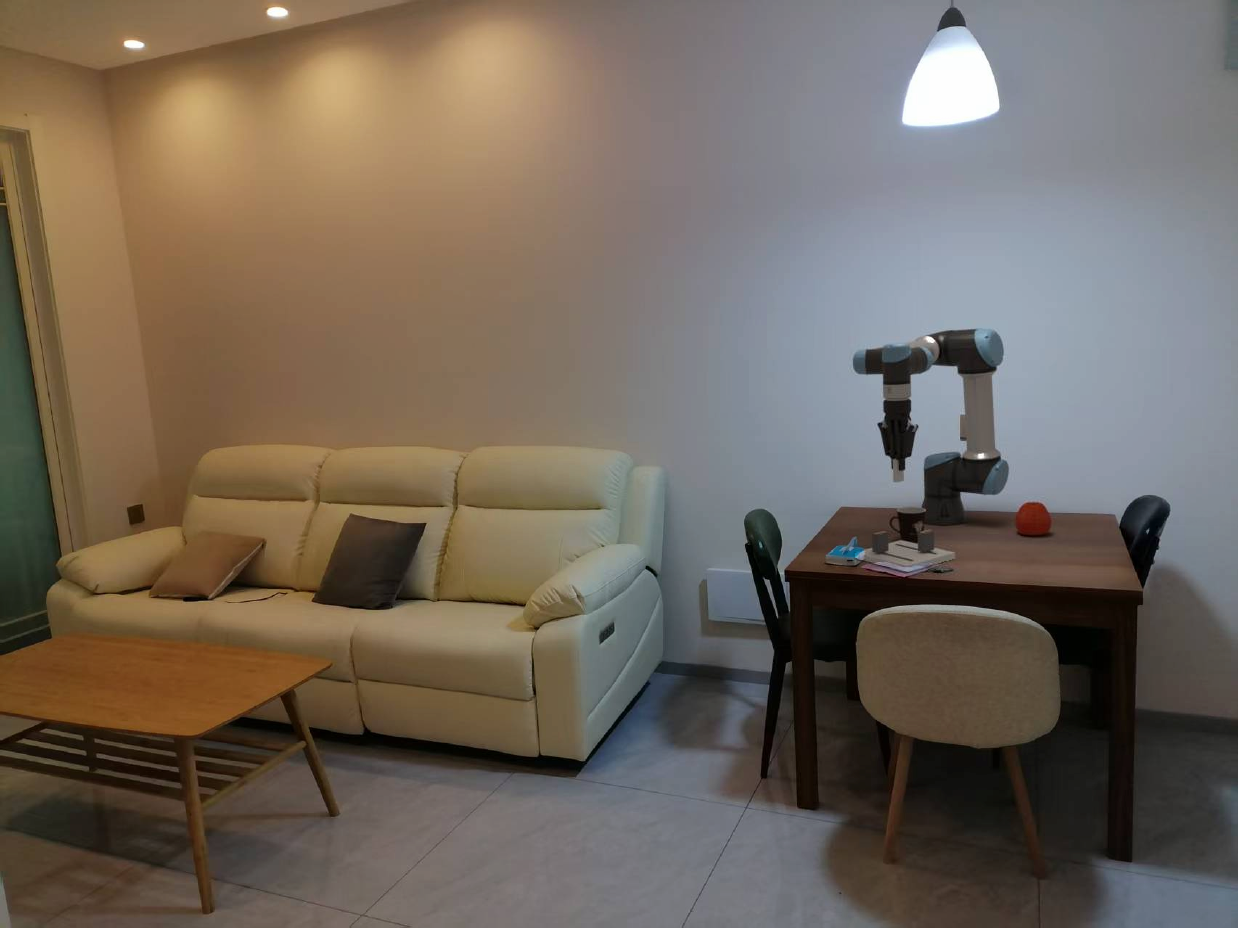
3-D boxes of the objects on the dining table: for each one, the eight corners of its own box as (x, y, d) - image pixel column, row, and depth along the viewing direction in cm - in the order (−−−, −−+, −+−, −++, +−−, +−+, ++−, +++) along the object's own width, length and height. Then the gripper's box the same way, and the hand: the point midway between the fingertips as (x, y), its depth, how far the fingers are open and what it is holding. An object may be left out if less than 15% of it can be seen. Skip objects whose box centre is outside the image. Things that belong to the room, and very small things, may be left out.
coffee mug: (922, 537, 281) (922, 506, 279) (929, 543, 273) (928, 512, 271) (885, 538, 282) (884, 508, 281) (890, 545, 274) (890, 514, 272)
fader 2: (927, 547, 259) (927, 529, 258) (934, 549, 257) (933, 530, 256) (917, 550, 257) (917, 531, 256) (924, 552, 255) (924, 533, 254)
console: (900, 546, 272) (900, 539, 272) (955, 559, 255) (955, 552, 254) (854, 558, 262) (854, 551, 262) (907, 573, 245) (907, 565, 245)
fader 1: (882, 549, 261) (881, 530, 260) (888, 550, 259) (888, 531, 258) (872, 551, 259) (872, 532, 258) (878, 553, 257) (878, 534, 256)
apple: (1028, 539, 270) (1029, 506, 268) (1007, 532, 280) (1007, 500, 278) (1058, 535, 272) (1058, 502, 270) (1036, 528, 282) (1036, 496, 280)
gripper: (869, 399, 250) (871, 480, 254) (906, 401, 239) (907, 486, 243) (888, 396, 254) (890, 476, 258) (924, 398, 243) (926, 482, 247)
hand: (898, 481), depth 250 cm, fingers closed
